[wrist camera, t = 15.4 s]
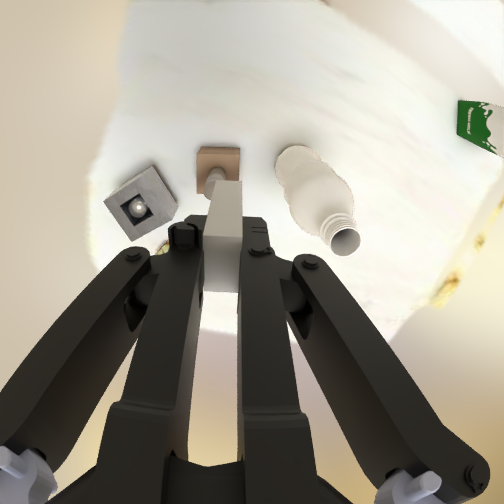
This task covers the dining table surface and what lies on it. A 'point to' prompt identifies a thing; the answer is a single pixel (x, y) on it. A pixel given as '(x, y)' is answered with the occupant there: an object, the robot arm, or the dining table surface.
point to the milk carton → (482, 125)
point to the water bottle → (318, 199)
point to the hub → (138, 206)
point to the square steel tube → (153, 196)
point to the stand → (216, 167)
